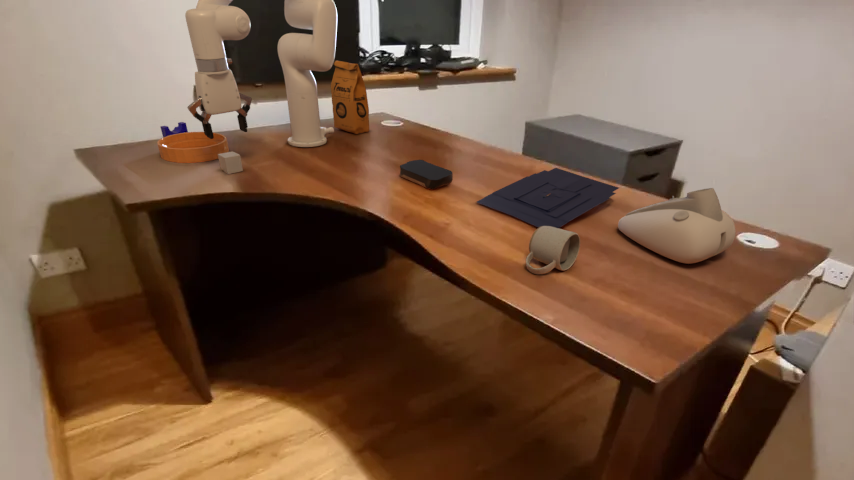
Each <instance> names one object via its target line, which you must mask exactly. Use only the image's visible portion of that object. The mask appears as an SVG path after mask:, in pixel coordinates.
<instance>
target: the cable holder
mask: <svg viewBox="0 0 854 480" xmlns="http://www.w3.org/2000/svg"><path fill="white" fill-rule="evenodd" d="M160 131H161V134H162V138H163V137H166V136H169V135H173V134H179V133H186V132H189V131H188V127H187V123H186V122H184V121H180V122H179V121H178V122H177V126H174V128H173V129H172V130H171V129H170V128H169V126H168V125H161V126H160Z"/></svg>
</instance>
